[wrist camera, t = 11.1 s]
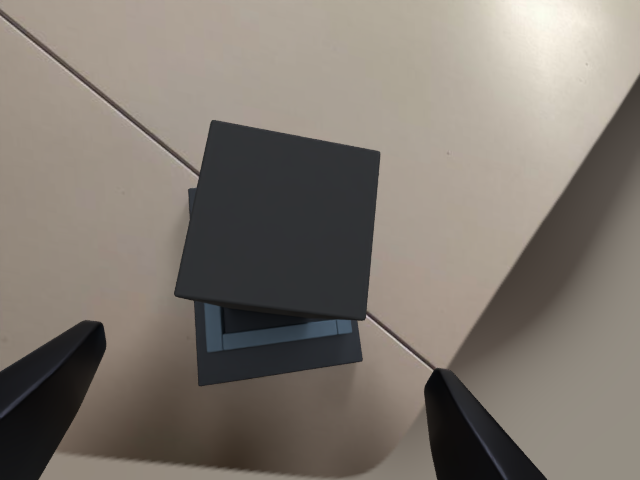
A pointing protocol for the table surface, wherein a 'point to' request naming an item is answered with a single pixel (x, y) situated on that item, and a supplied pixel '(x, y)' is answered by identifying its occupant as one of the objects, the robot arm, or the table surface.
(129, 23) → the table surface
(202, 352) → the base pad
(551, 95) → the table surface
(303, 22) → the table surface
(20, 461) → the robot arm
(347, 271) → the dark grey square block
